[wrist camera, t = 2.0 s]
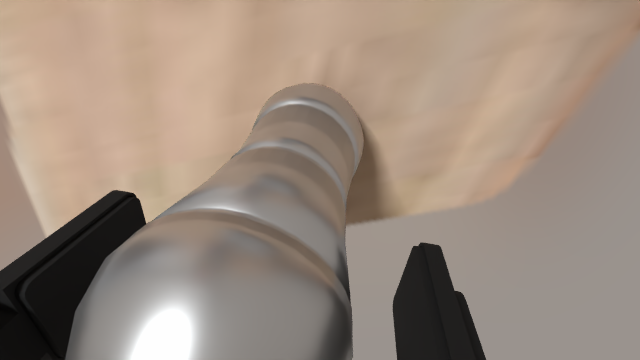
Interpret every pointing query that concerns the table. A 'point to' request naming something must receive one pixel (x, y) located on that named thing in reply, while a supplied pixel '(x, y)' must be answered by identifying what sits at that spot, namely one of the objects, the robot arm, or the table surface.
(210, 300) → the metal water bottle
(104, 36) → the table surface
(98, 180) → the table surface
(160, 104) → the table surface
